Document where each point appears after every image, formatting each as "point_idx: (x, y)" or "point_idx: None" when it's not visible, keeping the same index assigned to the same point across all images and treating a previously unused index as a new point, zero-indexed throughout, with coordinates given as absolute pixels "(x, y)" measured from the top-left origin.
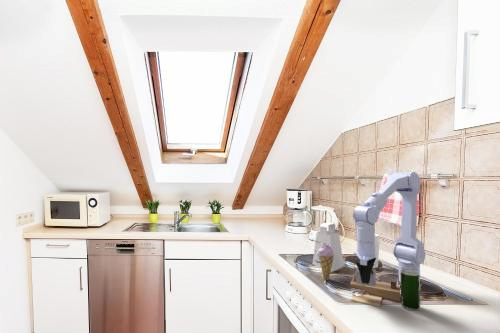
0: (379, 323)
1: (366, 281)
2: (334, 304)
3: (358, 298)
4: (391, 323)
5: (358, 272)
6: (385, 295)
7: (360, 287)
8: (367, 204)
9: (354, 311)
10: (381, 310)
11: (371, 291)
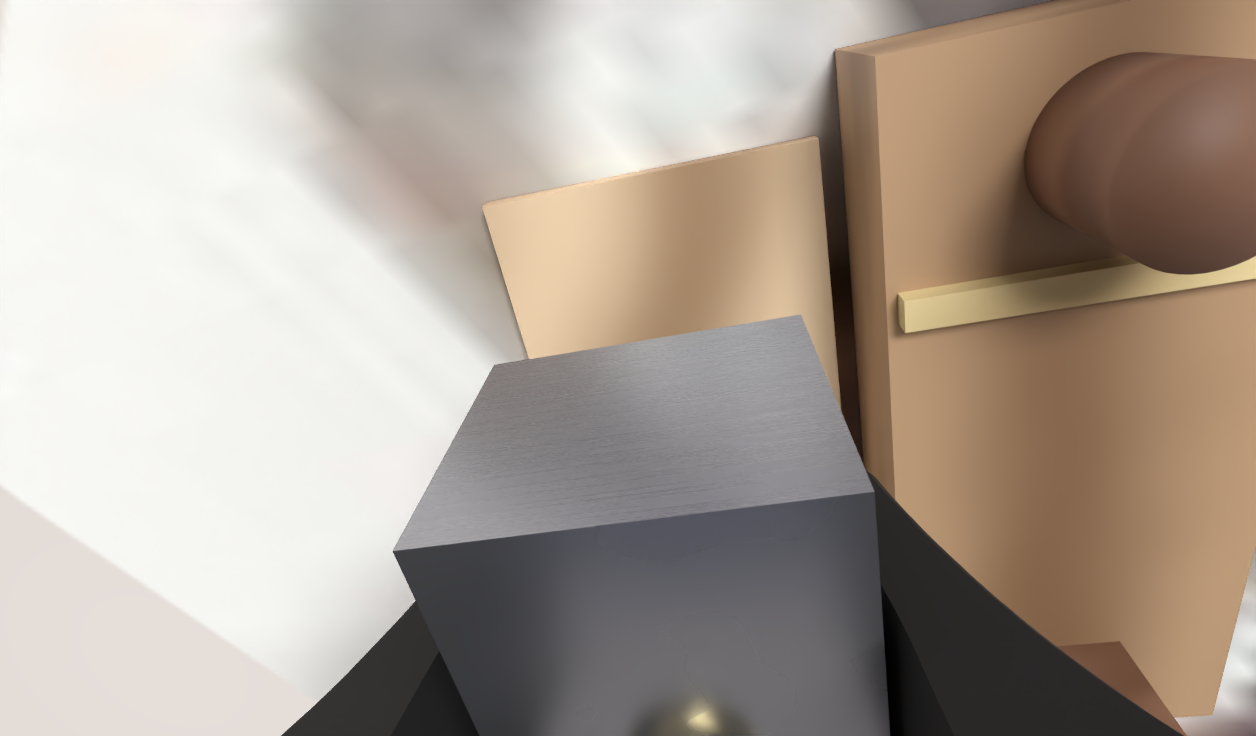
0: (237, 580)
1: None
2: (167, 40)
3: (598, 280)
4: (327, 644)
5: (434, 612)
6: None
7: (872, 260)
8: None
9: (239, 342)
10: None
11: (873, 409)
